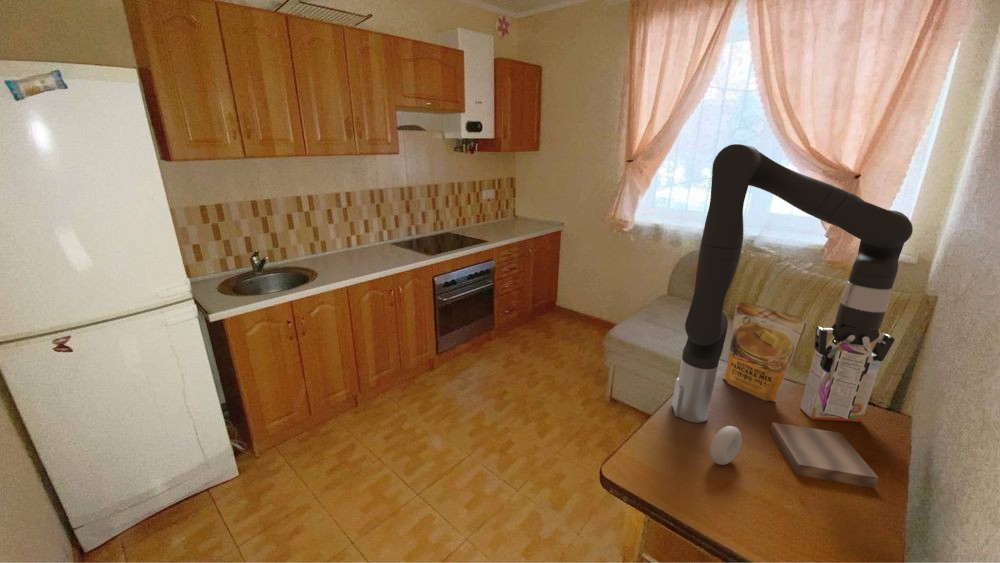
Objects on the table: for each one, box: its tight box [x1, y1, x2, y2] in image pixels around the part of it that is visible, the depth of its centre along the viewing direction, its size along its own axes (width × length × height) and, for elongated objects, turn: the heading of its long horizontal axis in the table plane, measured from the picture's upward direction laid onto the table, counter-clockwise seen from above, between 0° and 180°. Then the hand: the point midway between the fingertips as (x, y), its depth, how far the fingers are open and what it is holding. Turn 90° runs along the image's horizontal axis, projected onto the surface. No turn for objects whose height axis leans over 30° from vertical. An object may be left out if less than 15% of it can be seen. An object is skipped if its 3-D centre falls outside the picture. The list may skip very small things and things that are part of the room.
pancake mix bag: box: [722, 301, 807, 403], centre depth 125 cm, size 7×19×28 cm, turn 34°
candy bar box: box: [818, 336, 869, 420], centre depth 91 cm, size 11×5×16 cm, turn 147°
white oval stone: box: [709, 425, 743, 465], centre depth 97 cm, size 10×4×10 cm, turn 120°
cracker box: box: [799, 349, 882, 423], centre depth 114 cm, size 14×6×21 cm, turn 84°
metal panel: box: [769, 421, 880, 489], centre depth 100 cm, size 16×16×3 cm
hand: (841, 372), depth 90 cm, fingers closed on candy bar box, 6 cm apart
